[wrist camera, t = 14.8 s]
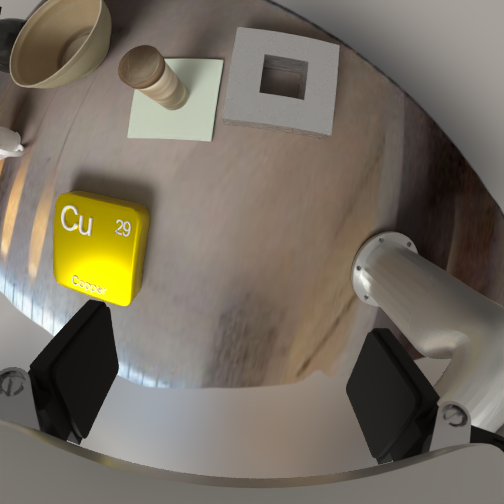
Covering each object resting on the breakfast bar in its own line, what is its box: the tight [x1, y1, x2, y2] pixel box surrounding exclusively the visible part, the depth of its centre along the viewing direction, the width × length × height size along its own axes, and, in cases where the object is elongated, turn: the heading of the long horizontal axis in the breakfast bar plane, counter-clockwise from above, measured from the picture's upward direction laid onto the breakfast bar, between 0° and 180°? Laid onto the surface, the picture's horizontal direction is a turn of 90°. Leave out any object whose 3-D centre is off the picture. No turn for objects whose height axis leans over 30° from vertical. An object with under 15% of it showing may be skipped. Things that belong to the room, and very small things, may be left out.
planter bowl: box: [10, 0, 112, 88], centre depth 24 cm, size 16×16×11 cm
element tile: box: [53, 190, 150, 306], centre depth 37 cm, size 15×15×5 cm
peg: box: [118, 45, 189, 110], centre depth 26 cm, size 4×4×14 cm
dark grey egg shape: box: [0, 7, 28, 73], centre depth 19 cm, size 10×10×15 cm
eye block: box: [223, 27, 340, 139], centre depth 30 cm, size 13×13×5 cm
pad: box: [128, 59, 224, 142], centre depth 32 cm, size 12×12×1 cm
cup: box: [0, 127, 25, 159], centre depth 29 cm, size 7×10×8 cm
